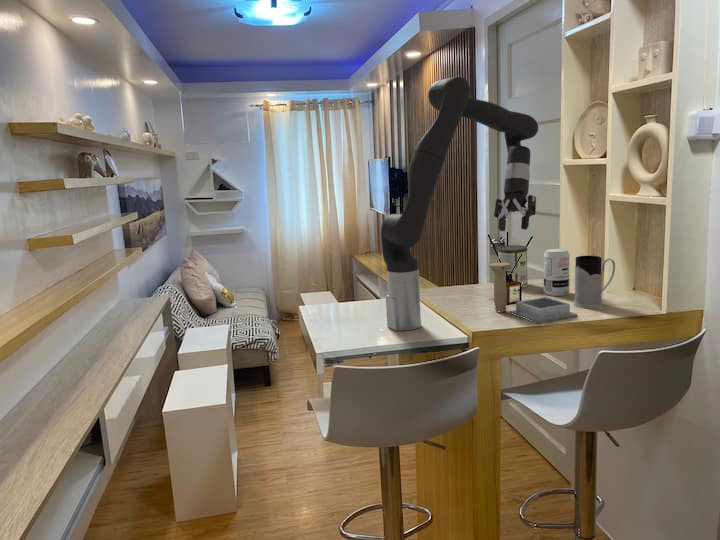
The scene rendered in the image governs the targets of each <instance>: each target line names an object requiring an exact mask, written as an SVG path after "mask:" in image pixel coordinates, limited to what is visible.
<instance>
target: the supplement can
mask: <svg viewBox="0 0 720 540" xmlns="http://www.w3.org/2000/svg"><path fill="white" fill-rule="evenodd" d="M543 292H544V293H545V295H547V296H550V297H563V296H566V295H568V294H569V293H570V253H569V251H568V249H566V248H548V249H545V252H544V253H543Z"/></svg>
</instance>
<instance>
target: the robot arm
mask: <svg viewBox="0 0 720 540" xmlns="http://www.w3.org/2000/svg"><path fill="white" fill-rule="evenodd" d="M427 93H428V97H427V98H428V101H429V103H430V106H432V108H434V109H435V110H436V111H438V114H437V116H436V118H435V120H434V122H433V123H432V125H431V126H430V127H429V129H428V130H427V131H426V132H425V133H424V134H423V136H422V137H421V138H420V139H419V141H418V143H417V144H416V146H415V148H414V150H413V153H412V156H411V159H410V161H409V165H408V168H407V169H408V170H407V173H408V174H407V177H408V178H407V179H408V196H407V200H406V204H405V206H404V210H403V211H402V213H400V214H399V213H391V214H389V215H387V216H386V217H385V218H384V220H383V221H382V224H381V228H380V240H381V248H382V249H381V250H382V258H383V261H384V263H385V265H386V277H387V282H386V283H387V295H385V306H386V307H385V308H386V323H387V324H386V326H387V327H388V328H390V329H391V330H394V331H395V332H398V331H413V330H417V329H419V328H421V327H422V318H421V299H420V298H421V295H420V275H419V274H420V273H419V272H420V271H419V260H418V258H416V256H415V255H414V254H413V253H412V251H411V249H410V248H413V247H414V246H415V245H417V244H418V243H419V241H420V240H421V237H422V235H423V231H424V228H425V224H426V220H427V216H428V212H429V208H430V204H431V200H432V198H433V195H434V192H435V189H436V186H437V183H438V179H439V178H440V175H441V173H442V169H443V167H444V164H445V161H446V158H447V155H448V151H449V148H450V146H451V144H452V141H453V138H454V136H455V133H456V130H457V127H458V126H459V124H460V121H461V120H462V118H466V119H468V120H471V121H473V122H476V123H479V124H482V125H483V126H486V127H488V128H489V129H491V130H495V131H497V132H499V133H503V135H504V139H505V140H504V141H505V144H506V145H505V146H506V151H507V159H506V160H507V161H506V168H505V174H504V184H503V185H504V187H503V194H504V198H503V199H499V198H496V200H495V206H494V213H493V216H494V218H497V219H498V229H499V231H500V232H505V231H506V227H507V226H506V225H507V218H508V216H509V215H511V213H514V212H520V213H521V215H522V217H521V225H520V228H521V230H528V228H529V225H530V218H531V217H532V216H535V215H536V214H537V212H536V211H537V209H536V208H537V197H536V196H535V195H531V194H529V189H530V177H531V176H530V175H531V172H530V171H531V170H530V165H531V164H530V163H531V149H530V148H529V147H528V146H525V145H522V144H521V142H522V141H525V140H529V139H532V138H534V137H535V136H536V135H537V134H538V132H539V124H538V122H537V120H536V119H535V118H534V117H533V116H531V115H529V114H527V113H521V112H517V111H512V110H510V109H509V110H508V109H507V108H505V107H503V106H502V105H501V106H500V105H498V104H496V103H493V102H490V101H486V100H481V99H478V98H473V97H471V87H470V83H469V81H468V80H467V79H466V78H464V77H462V76H452V77H448V78H443V79H439V80H437V81H434V82H433V83H432V85H431V86H430V87H429V89H428V92H427ZM526 203H527V205H526Z"/></svg>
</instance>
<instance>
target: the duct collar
mask: <svg viewBox="0 0 720 540" xmlns="http://www.w3.org/2000/svg"><path fill="white" fill-rule="evenodd" d="M515 307H516V309H513V310H509V311H508V313H509V312H510V313H513V314H516V315H519V316H522V317H525V318H527V319H529V320H532V321H534V322H533V323H535V322H536V323H535V324H537V323H538V325H540V324H544V323H550V322H555V321H559V320H566V319H570V318H575V317H578V313H576V312H575V313H574V312H572V311H571V304H570V303H567V302H564V301H561V300H558V299H554V298H551V297H548V296H543V297H537V298H531V299H526V300H525V299H524V300H520V301H516V302H515ZM510 313H509V314H510ZM513 314H512V315H513ZM516 315H515V316H516ZM519 316H518V317H519ZM527 319H526V320H527ZM529 320H528V321H529ZM532 321H531V322H532ZM539 323H540V324H539Z"/></svg>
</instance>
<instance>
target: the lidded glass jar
mask: <svg viewBox="0 0 720 540" xmlns="http://www.w3.org/2000/svg"><path fill="white" fill-rule="evenodd" d="M524 249H525V250H524ZM497 251H498V260H499V259H500V261H501V263H510V264H511V267H510V269H508V270H507V274H511V272H512V270H513V268H514V266H515V264H516V262H517V261H518V259H519V257H520V256H521V254H522V256H521V257H520V259H519V261H518V263H517V264H516V266H515V268H514V270H513V272H512V279H513V280H514V281H519V282H523V284H522V288H526V287H528V285H529V284H528V246H525V245H518V244H517V245H503V246H499V247H498V248H497ZM523 251H524V252H523ZM498 263H500V262H499V261H498ZM522 288H521V289H522Z"/></svg>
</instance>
